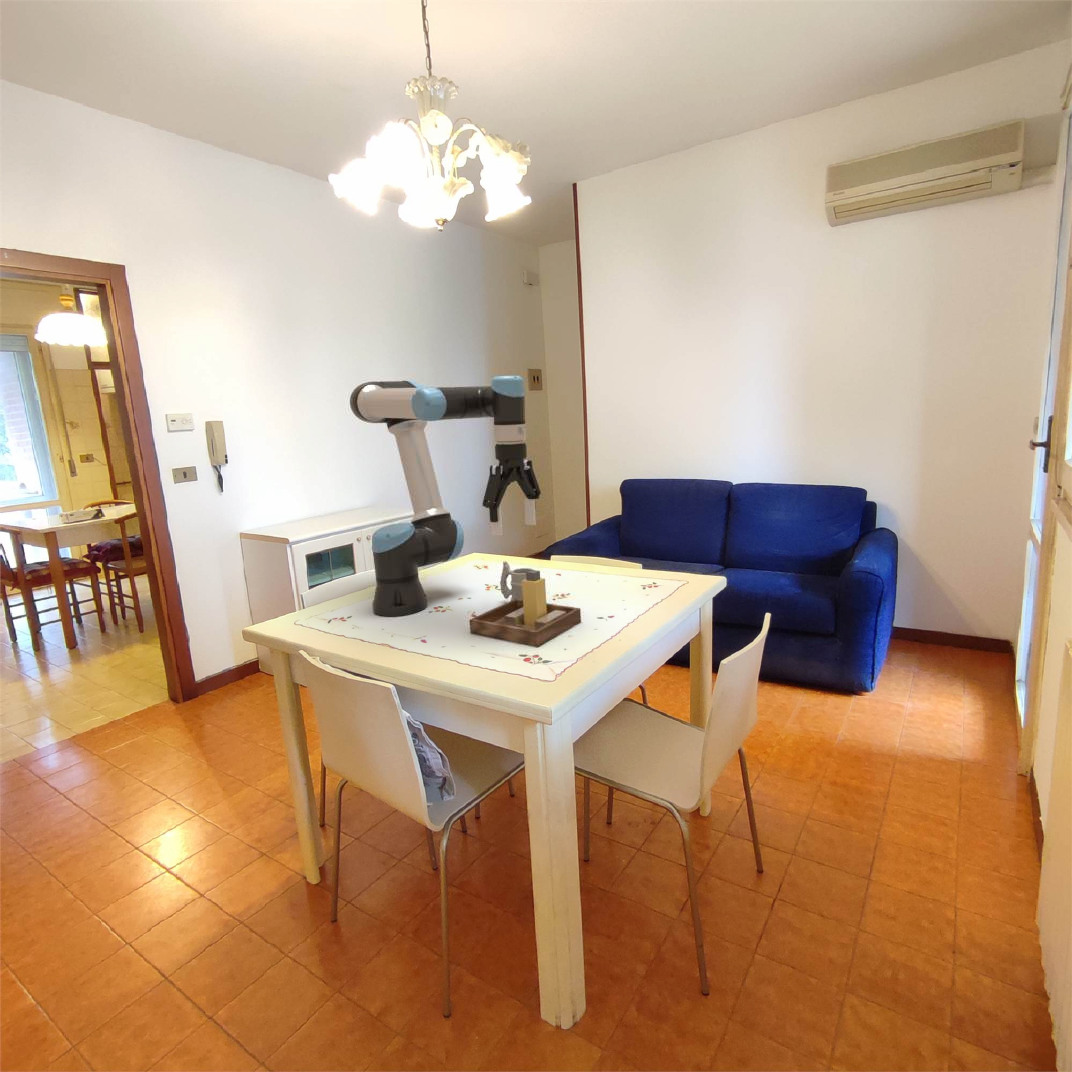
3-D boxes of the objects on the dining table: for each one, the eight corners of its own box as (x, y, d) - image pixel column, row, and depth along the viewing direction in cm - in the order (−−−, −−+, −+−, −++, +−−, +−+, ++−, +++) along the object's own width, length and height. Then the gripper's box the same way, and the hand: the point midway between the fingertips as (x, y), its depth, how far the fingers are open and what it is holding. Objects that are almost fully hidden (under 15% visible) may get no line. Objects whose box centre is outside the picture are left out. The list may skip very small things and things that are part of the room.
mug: (528, 611, 166) (525, 567, 164) (493, 605, 173) (490, 563, 171) (544, 603, 172) (541, 561, 170) (510, 598, 179) (507, 557, 177)
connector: (524, 628, 151) (521, 572, 149) (534, 623, 155) (530, 568, 152) (538, 630, 149) (534, 574, 146) (547, 625, 152) (544, 570, 150)
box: (470, 633, 152) (469, 619, 151) (516, 611, 167) (516, 598, 166) (537, 647, 140) (536, 632, 140) (581, 621, 156) (580, 608, 155)
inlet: (505, 629, 152) (504, 615, 151) (527, 618, 159) (526, 605, 158) (545, 636, 145) (545, 622, 144) (566, 625, 152) (565, 611, 151)
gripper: (489, 447, 136) (494, 541, 141) (552, 438, 156) (555, 521, 161) (463, 446, 141) (469, 538, 145) (528, 438, 160) (531, 519, 165)
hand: (514, 529), depth 153 cm, fingers open, 13 cm apart
